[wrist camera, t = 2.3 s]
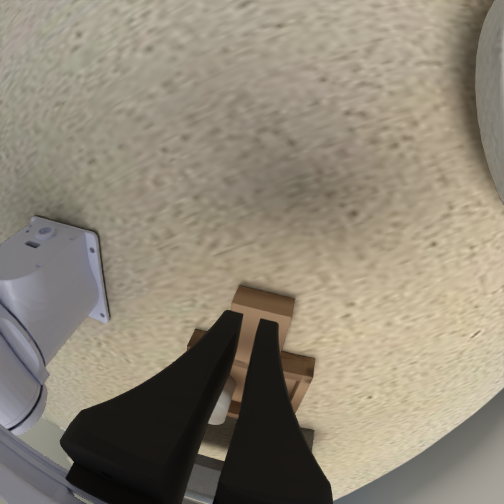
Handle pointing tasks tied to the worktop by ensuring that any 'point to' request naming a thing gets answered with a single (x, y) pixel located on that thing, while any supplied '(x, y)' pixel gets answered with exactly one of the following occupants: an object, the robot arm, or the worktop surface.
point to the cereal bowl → (492, 92)
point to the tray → (253, 308)
